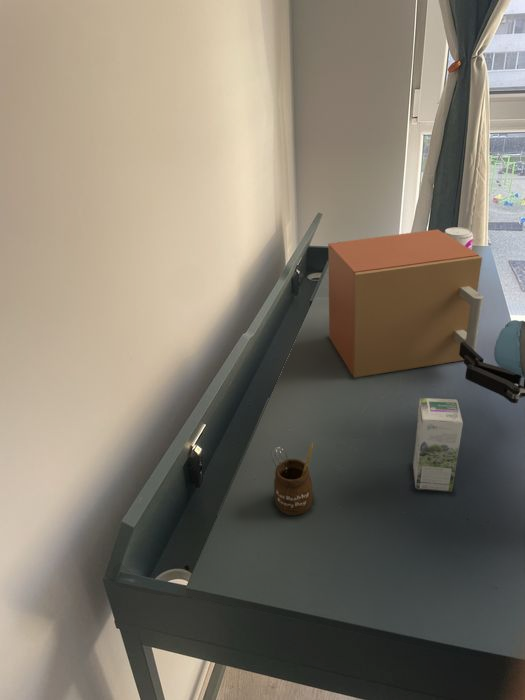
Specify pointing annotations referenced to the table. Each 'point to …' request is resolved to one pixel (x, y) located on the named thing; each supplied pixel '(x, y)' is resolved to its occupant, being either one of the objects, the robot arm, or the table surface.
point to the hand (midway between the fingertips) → (495, 342)
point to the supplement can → (461, 235)
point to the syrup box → (437, 444)
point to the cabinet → (375, 257)
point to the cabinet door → (415, 315)
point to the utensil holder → (293, 485)
